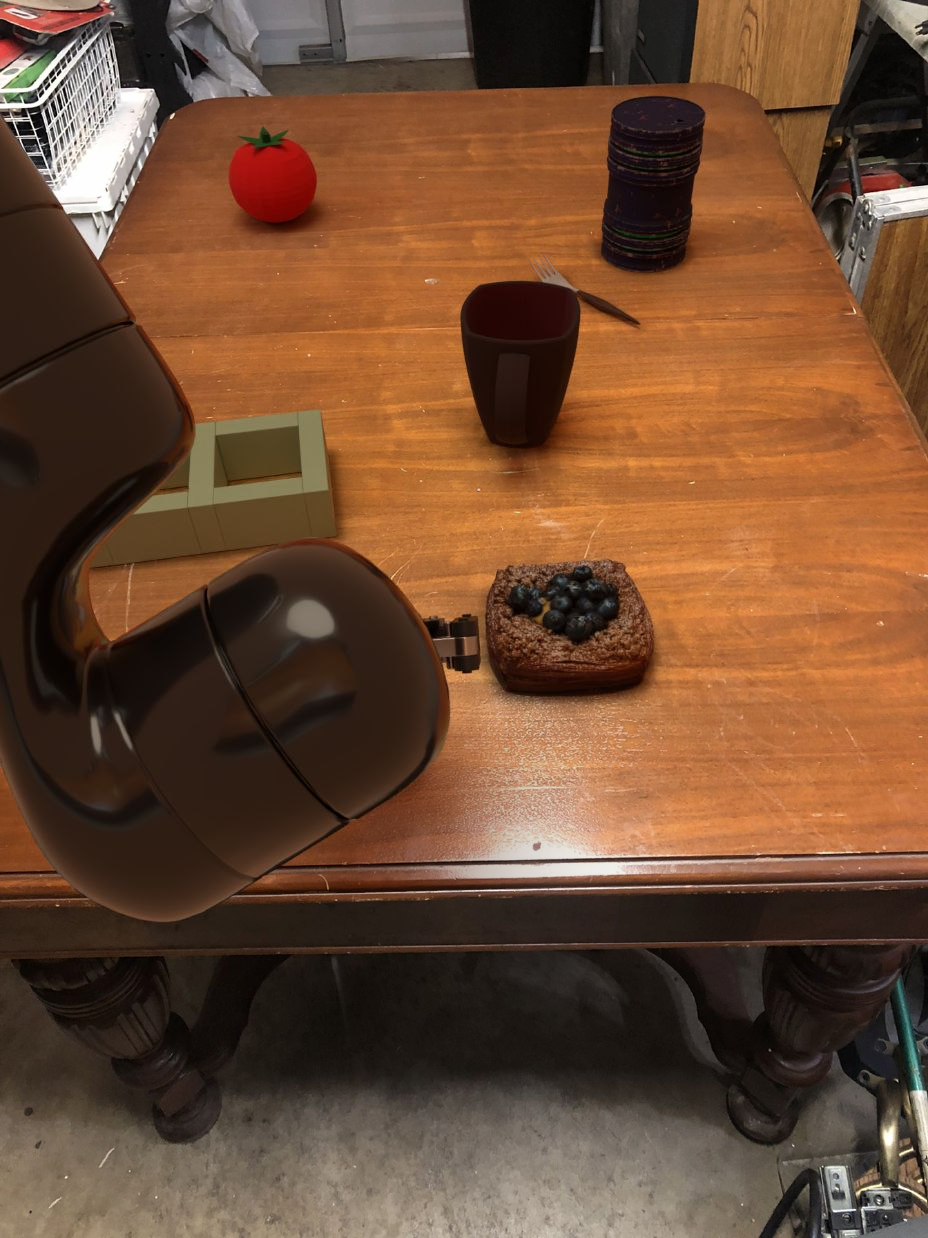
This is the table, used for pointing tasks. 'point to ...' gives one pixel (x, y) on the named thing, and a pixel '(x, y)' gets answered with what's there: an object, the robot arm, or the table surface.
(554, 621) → the pastry
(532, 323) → the cup
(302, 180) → the tomato
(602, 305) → the fork
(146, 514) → the caddy
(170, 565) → the table surface
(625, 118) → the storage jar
